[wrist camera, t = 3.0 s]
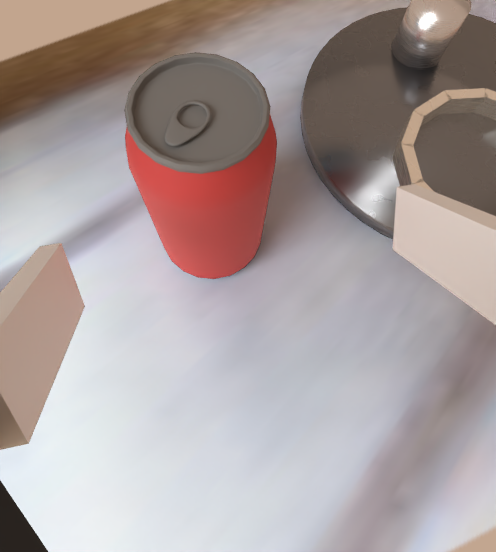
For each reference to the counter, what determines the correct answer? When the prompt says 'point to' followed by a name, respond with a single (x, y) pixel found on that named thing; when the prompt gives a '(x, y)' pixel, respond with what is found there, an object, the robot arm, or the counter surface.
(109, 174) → the counter surface
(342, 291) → the counter surface
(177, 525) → the counter surface
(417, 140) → the carrier plate
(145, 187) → the beer can
